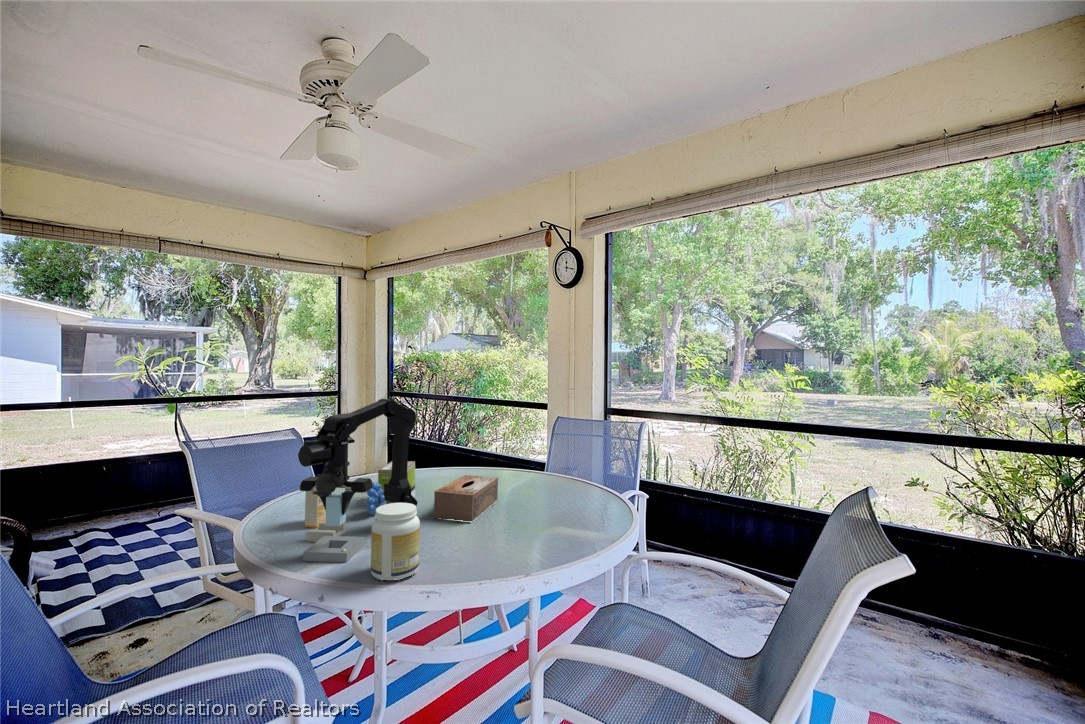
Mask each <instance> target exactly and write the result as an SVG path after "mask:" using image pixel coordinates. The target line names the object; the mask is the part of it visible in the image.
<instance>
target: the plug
mask: <svg viewBox="0 0 1085 724" xmlns="http://www.w3.org/2000/svg"><path fill="white" fill-rule="evenodd" d="M342 502H343V497H342V494H341V493H340V492H339V493H337V492H336V493H335V492H333V493H332V494H331V495H329V496H327V497H326V526H340V525H341V524H343V523H344V522H346V521H347V512H346V513H345V514H344V515H342Z"/></svg>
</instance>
